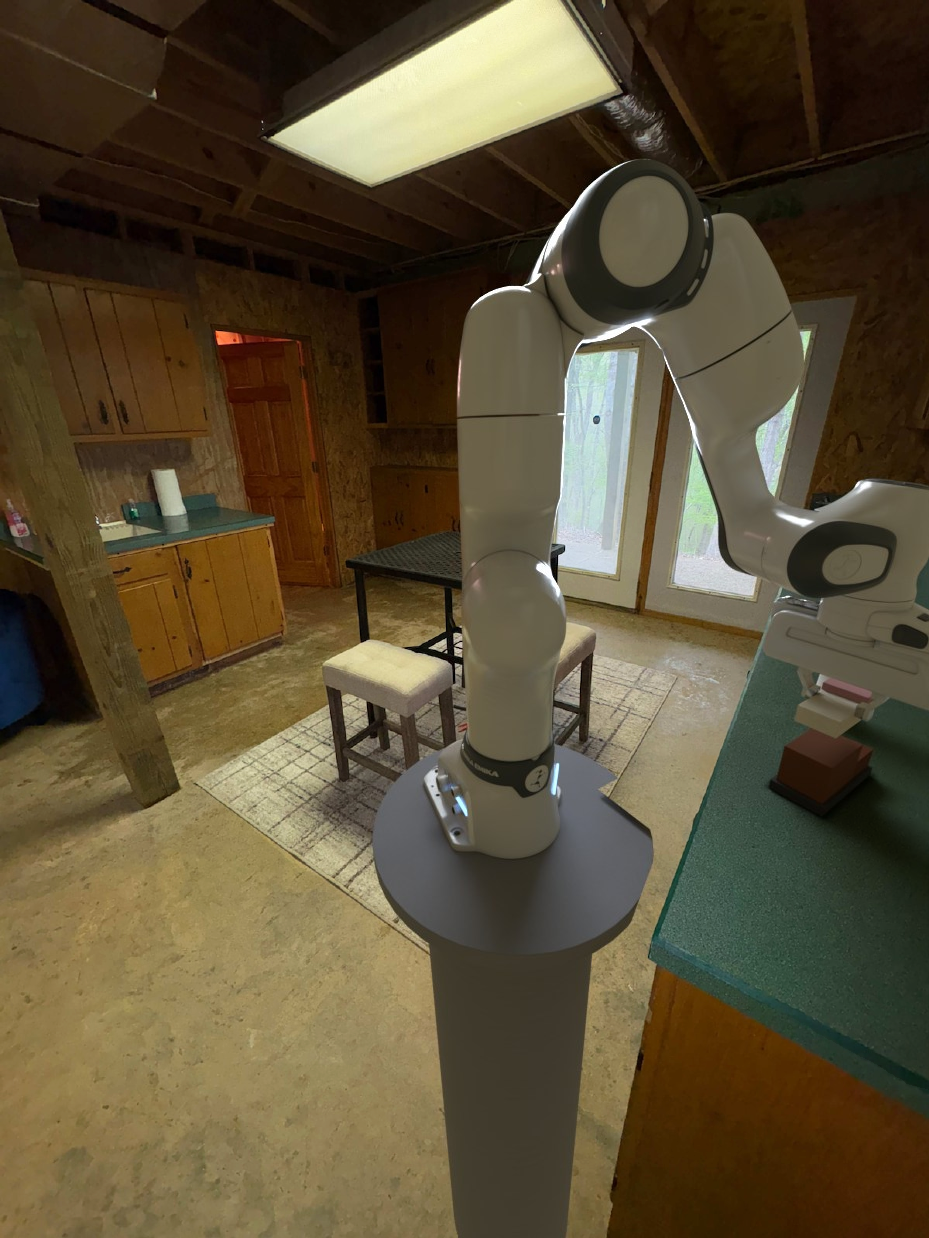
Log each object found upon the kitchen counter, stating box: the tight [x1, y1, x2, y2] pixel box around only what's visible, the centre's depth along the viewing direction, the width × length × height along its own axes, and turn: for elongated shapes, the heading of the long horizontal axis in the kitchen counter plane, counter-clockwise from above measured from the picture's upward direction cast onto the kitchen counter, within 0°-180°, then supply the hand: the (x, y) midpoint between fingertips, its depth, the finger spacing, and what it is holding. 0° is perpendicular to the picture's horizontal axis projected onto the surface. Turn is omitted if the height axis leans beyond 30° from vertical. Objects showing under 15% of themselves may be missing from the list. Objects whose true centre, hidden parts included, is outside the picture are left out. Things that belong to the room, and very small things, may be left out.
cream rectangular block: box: [793, 678, 875, 738], centre depth 65 cm, size 10×5×4 cm, turn 122°
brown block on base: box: [768, 728, 874, 817], centre depth 70 cm, size 15×7×8 cm, turn 122°
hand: (835, 707), depth 66 cm, fingers closed on cream rectangular block, 5 cm apart
